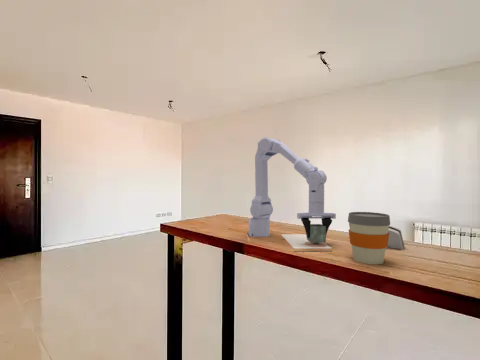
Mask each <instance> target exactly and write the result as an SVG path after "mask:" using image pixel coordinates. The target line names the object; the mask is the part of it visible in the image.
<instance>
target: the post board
mask: <svg viewBox="0 0 480 360" xmlns="http://www.w3.org/2000/svg"><path fill="white" fill-rule="evenodd" d="M280 235H281V236H282V237H283V239H285V240H286V242H287V243H289V245H290V246H291V247H292V248H293V249H294V250H293V252H294V253H306V252H307V253H313V252H316V253H317V252H318V253H319V252H320V253H323V252H325V253H327V252H330V253H332V252H333V250H321V249H332V247H331V246H330V245H329V244H328V243H327V242H326V243H311V242H310V241H308V240H307V236H306V233H304V234H301V233H299V234H298V233H296V234H294V233H293V234H290V233H289V234H287V233H285V234H280ZM297 249H298V250H297ZM299 249H301V250H299ZM303 249H305V250H303ZM307 249H309V250H307ZM310 249H315V250H310ZM316 249H318V250H316ZM319 249H320V250H319Z"/></svg>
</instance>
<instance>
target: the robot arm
mask: <svg viewBox="0 0 480 360" xmlns="http://www.w3.org/2000/svg"><path fill="white" fill-rule="evenodd" d="M277 154H280V155H281V156H283V157H284V158H285V159H286V160H288V161H290V163H291V164H293V168H294V170H295V171H296V172H298V174H299V175H301V176H302V177H303V178H304V179H305V181H306V183H307V185H308V212H297V213H296V218H297V219H299V220H301V223H302V224H303V227H304V230H305V234H306V236H307V237H308V238H310V224H312V223H311V220H310V219H321V224H322V225H324V226H326V236H327V233H328V230H329V228H330V226H331V224H332V223H333V219H334V220H335V219H336V217H337V216H336V215H337V214H336V213H334V212H325V184H326V182H327V175H326V173H325V172H324V170H319V168H318V167H317V166H314V165H313V164H312V163H311V162H310V159H308V158H304V157H301V158H300V157H299V156H298V155H297V154H296V153H295V152H294V151H292V149H291V148H290V147H288V146H287V144H285V143H284V142H282V141H281V140H280V139H276V138H270V137H268V136H265V137H262V138H261V139H260V140H259V141H258V142H257V149H256V153H255V156H254V169H255V171H254V172H255V173H254V180H255V181H254V182H255V185H254V186H255V196H254V197H253V199H252V200H251V205H250V209H249V212H250V215H251V216H252V217H249V218H248V231H247V234H248V236H249V237H252V238H254V237H255V238H257V237H258V238H268V237H270V233H271V232H270V230H271V228H270V227H271V226H270V224H271V223H270V221H271V219H270V218H271V215H273V212H274V208H273V207H274V206H273V205H272V200H271V198H270V196H269V181H268V180H269V177H268V175H269V174H268V161H269V160H270V159H271V158H272V157H273V156H275V155H277Z"/></svg>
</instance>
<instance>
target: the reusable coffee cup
mask: <svg viewBox="0 0 480 360" xmlns="http://www.w3.org/2000/svg"><path fill="white" fill-rule="evenodd" d="M347 222H348V225H349V229H348V235H349V237H348V238H349V243H350V244H351V249H352V250H351V251H352V256H353V257H352V258H353V260H354V261H355V262H358V263H362V264H367V265H381V264H384V260H385V253H386V249H387V248H388V247H387V245H388V239H389V233H388V229H389V225H390V226H391V218H390V215H389V214H386V213H383V212H382V213H381V212H370V211H351V212H348V218H347Z"/></svg>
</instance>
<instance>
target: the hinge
mask: <svg viewBox="0 0 480 360" xmlns="http://www.w3.org/2000/svg"><path fill="white" fill-rule="evenodd" d="M388 233H389V239H388V245H387V248H391V249H396V250H404V248H405V243H404V238H403V235H402V230H401V229H400V228H399V227H396V226H393V225H391V224H390V225H389V229H388Z"/></svg>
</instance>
